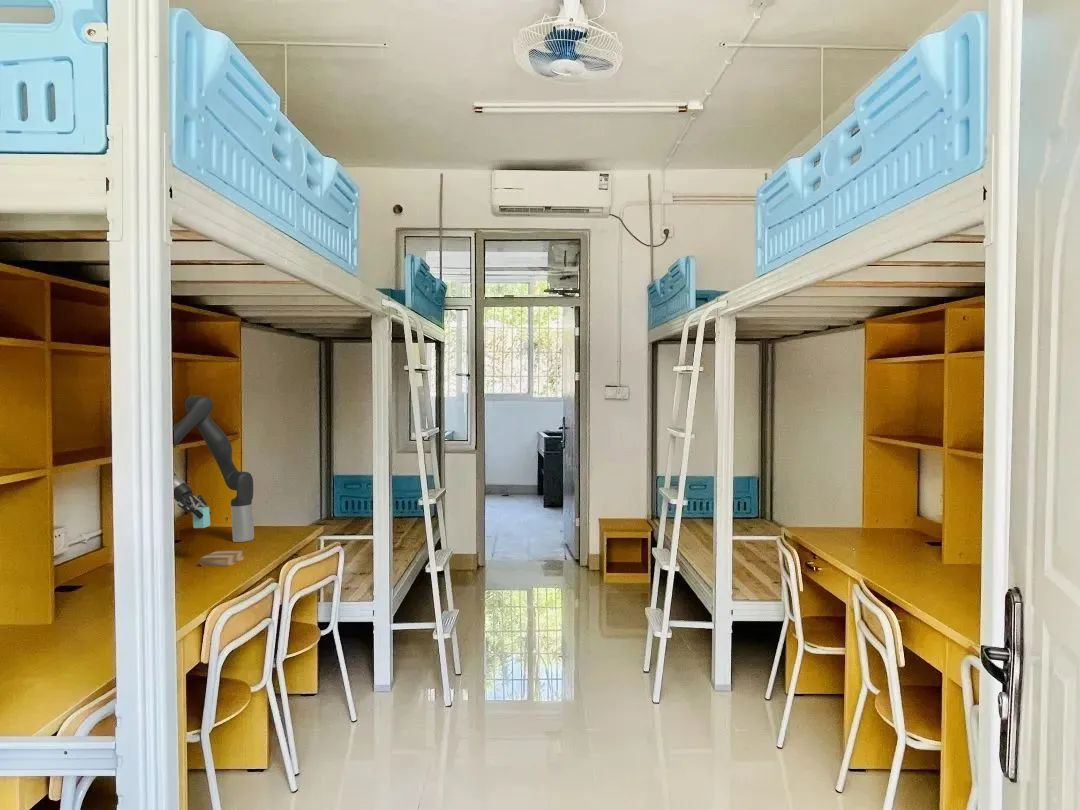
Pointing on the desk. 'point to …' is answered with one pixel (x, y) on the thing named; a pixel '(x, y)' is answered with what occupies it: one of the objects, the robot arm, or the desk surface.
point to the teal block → (204, 520)
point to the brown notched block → (222, 558)
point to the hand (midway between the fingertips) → (205, 515)
